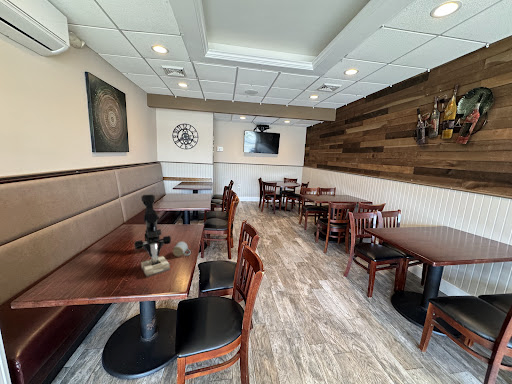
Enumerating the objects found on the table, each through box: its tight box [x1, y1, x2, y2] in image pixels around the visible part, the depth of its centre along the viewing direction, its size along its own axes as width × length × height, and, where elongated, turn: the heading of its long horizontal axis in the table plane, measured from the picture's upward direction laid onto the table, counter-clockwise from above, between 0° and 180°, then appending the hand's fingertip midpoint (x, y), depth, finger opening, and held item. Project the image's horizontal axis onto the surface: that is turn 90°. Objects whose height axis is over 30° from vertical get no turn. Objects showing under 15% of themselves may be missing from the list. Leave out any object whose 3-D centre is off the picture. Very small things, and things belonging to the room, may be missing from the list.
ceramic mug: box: [172, 241, 192, 257], centre depth 138 cm, size 11×8×8 cm
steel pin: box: [150, 243, 159, 266], centre depth 119 cm, size 4×4×14 cm
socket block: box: [140, 255, 171, 278], centre depth 120 cm, size 12×12×4 cm
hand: (154, 256), depth 118 cm, fingers closed on steel pin, 3 cm apart
